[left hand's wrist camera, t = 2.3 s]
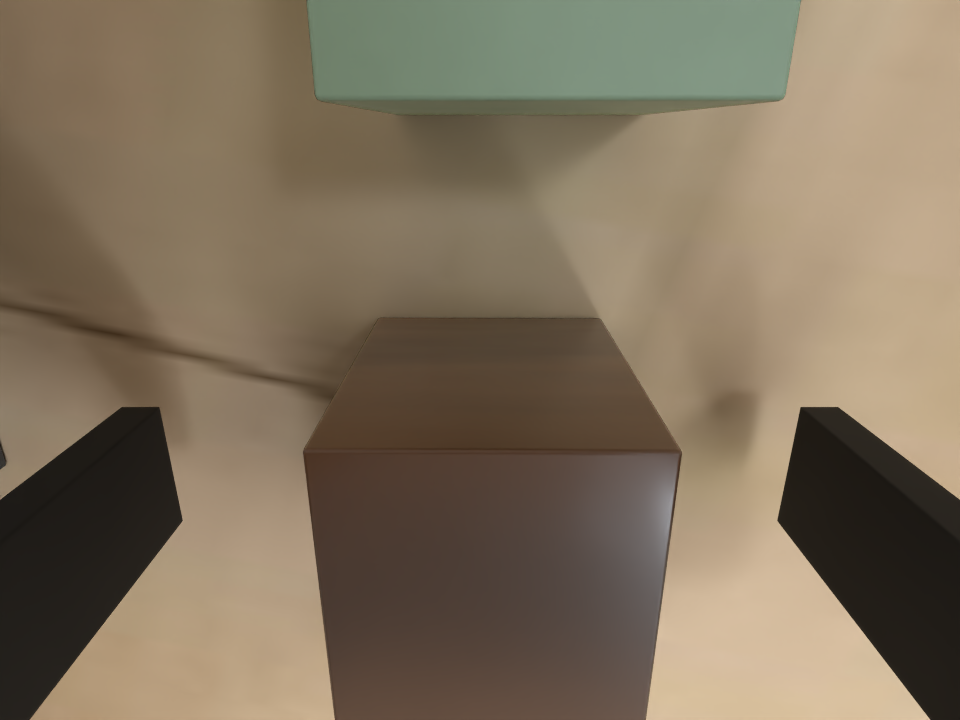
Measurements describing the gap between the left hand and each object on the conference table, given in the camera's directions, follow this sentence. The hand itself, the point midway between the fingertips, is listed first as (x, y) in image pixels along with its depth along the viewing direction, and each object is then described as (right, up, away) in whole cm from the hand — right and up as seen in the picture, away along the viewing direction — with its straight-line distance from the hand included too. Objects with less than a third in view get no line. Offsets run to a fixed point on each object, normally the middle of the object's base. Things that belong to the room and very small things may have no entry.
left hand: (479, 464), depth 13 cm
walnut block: (0, +1, +2) cm, 2 cm away
